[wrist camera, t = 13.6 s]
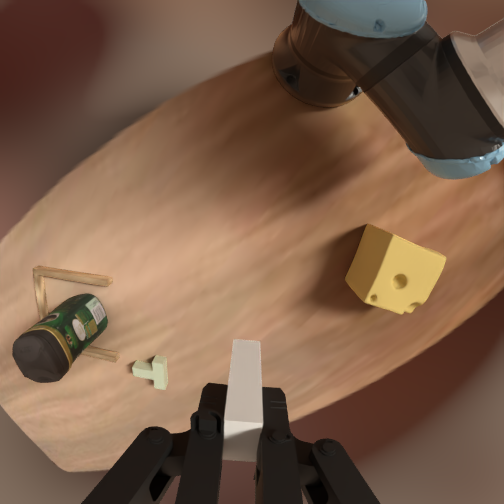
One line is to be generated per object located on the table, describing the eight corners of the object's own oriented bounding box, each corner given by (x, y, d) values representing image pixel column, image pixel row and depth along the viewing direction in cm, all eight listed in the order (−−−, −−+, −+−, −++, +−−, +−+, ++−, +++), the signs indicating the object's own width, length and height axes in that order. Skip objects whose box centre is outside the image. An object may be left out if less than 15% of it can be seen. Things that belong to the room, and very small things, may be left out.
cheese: (392, 298, 47) (418, 323, 38) (339, 279, 46) (359, 304, 37) (416, 242, 45) (449, 257, 35) (364, 218, 44) (392, 229, 34)
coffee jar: (78, 336, 49) (26, 389, 31) (60, 299, 48) (0, 344, 30) (115, 328, 49) (65, 388, 31) (97, 287, 47) (36, 336, 29)
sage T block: (135, 351, 50) (131, 358, 48) (166, 356, 50) (163, 364, 48) (138, 376, 51) (134, 384, 49) (167, 382, 51) (164, 390, 49)
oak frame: (38, 265, 46) (32, 268, 44) (112, 277, 47) (107, 280, 45) (50, 339, 50) (45, 343, 48) (119, 357, 50) (115, 362, 48)
